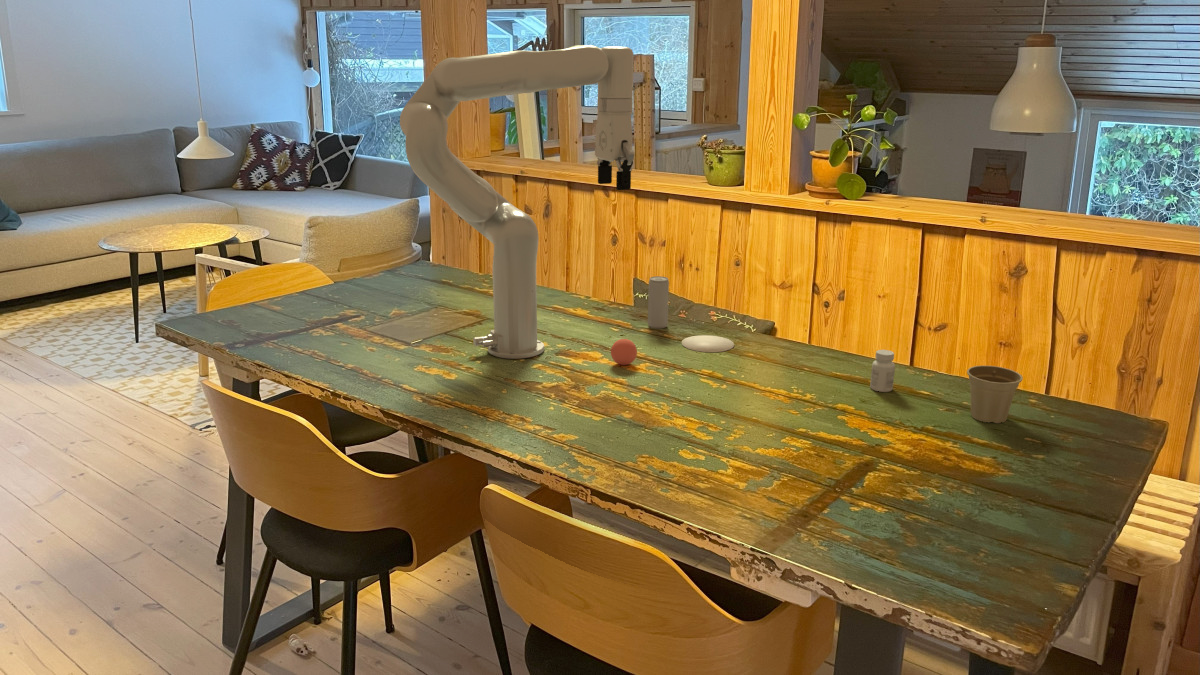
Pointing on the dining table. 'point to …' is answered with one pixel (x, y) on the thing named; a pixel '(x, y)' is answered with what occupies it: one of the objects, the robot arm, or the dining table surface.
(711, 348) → the disc
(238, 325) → the dining table surface
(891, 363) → the pill bottle
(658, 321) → the beverage can
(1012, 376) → the flower pot
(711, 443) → the dining table surface
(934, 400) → the dining table surface
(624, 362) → the ball
